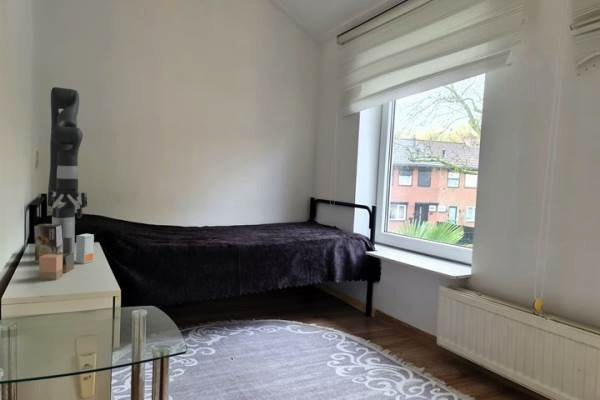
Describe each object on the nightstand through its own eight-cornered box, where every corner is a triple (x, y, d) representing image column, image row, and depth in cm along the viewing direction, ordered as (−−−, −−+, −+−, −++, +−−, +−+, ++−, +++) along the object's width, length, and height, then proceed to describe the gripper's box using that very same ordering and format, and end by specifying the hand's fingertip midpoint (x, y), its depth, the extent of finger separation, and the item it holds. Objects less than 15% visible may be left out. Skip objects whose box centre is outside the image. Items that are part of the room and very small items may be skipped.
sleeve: (62, 268, 177) (62, 252, 176) (73, 268, 177) (73, 252, 177) (54, 272, 170) (54, 256, 169) (66, 272, 170) (66, 256, 170)
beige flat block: (66, 257, 179) (66, 236, 178) (73, 257, 179) (73, 237, 178) (53, 264, 167) (53, 242, 166) (60, 264, 167) (60, 242, 166)
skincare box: (84, 264, 185) (84, 236, 184) (75, 263, 186) (75, 235, 185) (94, 261, 191) (94, 234, 190) (85, 260, 192) (85, 233, 191)
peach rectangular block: (45, 276, 165) (45, 254, 164) (62, 276, 166) (62, 254, 165) (39, 279, 160) (39, 257, 159) (56, 280, 161) (56, 257, 160)
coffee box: (63, 260, 189) (63, 224, 188) (56, 264, 183) (56, 226, 181) (41, 260, 188) (41, 223, 187) (33, 263, 182) (33, 225, 180)
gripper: (44, 176, 169) (44, 218, 170) (82, 178, 170) (82, 219, 172) (53, 176, 176) (53, 215, 178) (89, 177, 178) (89, 217, 179)
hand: (67, 217), depth 175 cm, fingers open, 8 cm apart
